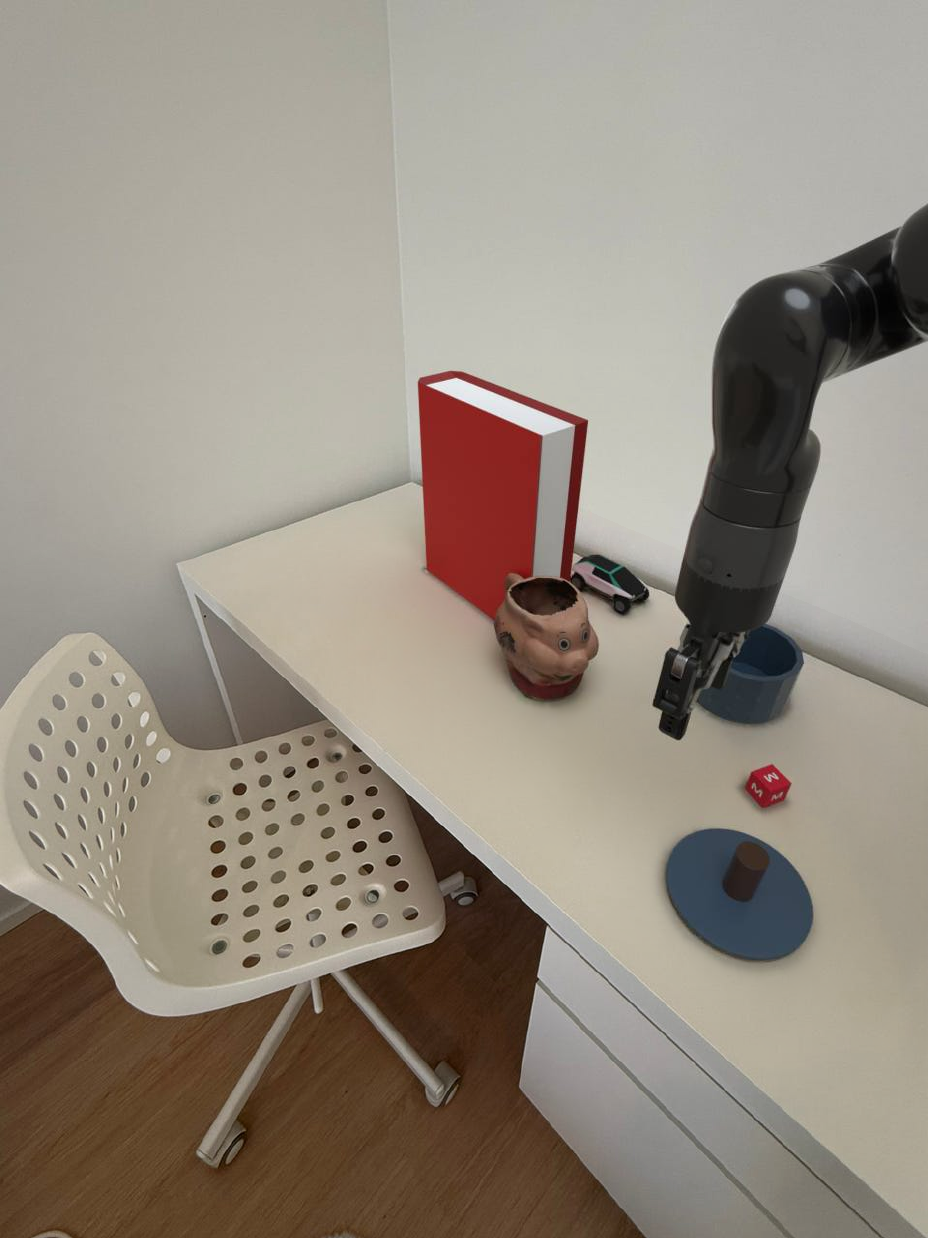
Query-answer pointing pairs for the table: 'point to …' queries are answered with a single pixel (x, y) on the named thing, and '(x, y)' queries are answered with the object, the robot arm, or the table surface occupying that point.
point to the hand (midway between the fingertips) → (692, 707)
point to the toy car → (609, 581)
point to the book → (496, 485)
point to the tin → (757, 678)
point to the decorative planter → (545, 635)
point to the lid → (739, 894)
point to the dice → (767, 786)
